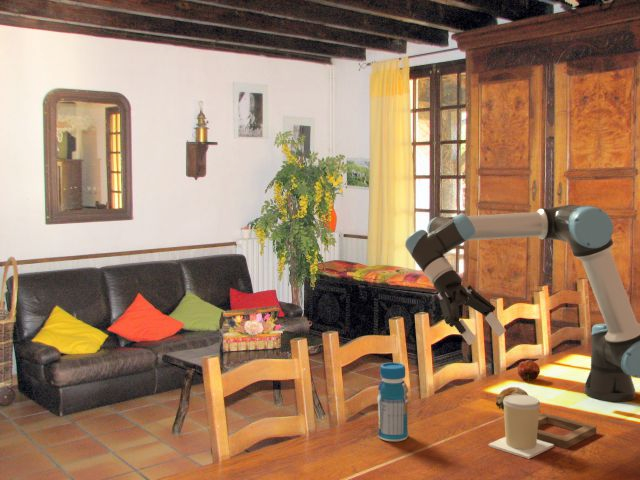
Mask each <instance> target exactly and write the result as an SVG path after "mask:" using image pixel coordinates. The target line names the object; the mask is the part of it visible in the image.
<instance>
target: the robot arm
mask: <svg viewBox="0 0 640 480" xmlns="http://www.w3.org/2000/svg"><path fill="white" fill-rule="evenodd" d="M426 229H427V230H425V229H418V230H417V231H414V232H413V233H411V234H410V235H409V236H408V237H407V239H406V240H405V244H404V245H405V248H406V249H407V251H408V252H409V254H410V255H411V258H412V259H413V260H414V261H415V262H416V264H417V266H418V267H419V268H420V269H421V271H422V272H423V274H424V275H425V276H426V278H427V279H428V280H429V282H430V283H431V284H432V285H433V288H434V289H435V290H436V291H437V295H436V296H435V298H436V299H437V302H438V303H439V305H440V310H441V312H442V316H443V319H444V323H445V324H446V325H449V327H450V328H453V327H455V329H456V331H457V332H458V333H459V334H460V335H461V336H462V337H463V339H464V340H465V342H466V343H467V345H468V346H470V345H472V344H473V343H474V342H475V341H476V340H477V337H476V336H475V334H474V333H473V331H472V330H471V329H470V328H469V326H468V324H467V323H466V322H465V320H463V318H461V319H460V307H459V306H468V307H469V308H471V309H473V310H475V311H477V312H478V313H480V314H481V315H483V316H484V319H485V320H486V322H487V323H488V325H489V326H490V327H491V328H492V330H493V331H494V333H495V334H496V336H497V337H498V338H499V337H501V336H502V335H504V334H505V332H507V329H506V328H505V327H504V326H503V324H502V323H501V322H500V320H499V319H498V317H497V316H496V314H495V313H494V311H495V310H496V307H495V306H494V305H493V304H492V303H491V302H490V301H488V300H487V299H486V298H485V297H483V296H482V295H481V294H479V292H477V291H476V290H475V289H474V288H473V286H471V285H470V284H468V285H467V287H464V286H463V285H462V281H463V280H462V278H461V276H460V275H459V274H458V272H456V270H454V267H453V265H452V264H451V263H450V262H449V260H448V259H447V258H446V256H445V254H447V253H448V252H450V251H452V250H454V249H455V248H457V247H458V246H460V245H461V244H463V243H465V242H467V241H479V240H481V241H482V240H497V239H498V240H499V239H500V240H501V239H514V238H533V237H538V239H539V240H554V241H555V240H556V241H560V242H566V243H568V244H569V246H570V249H571V250H570V251H571V252H572V255H573V257H574V258H577V259H579V260H580V261H581V263H582V266H583V268H584V271H585V274H586V276H587V278H588V279H587V280H588V282H589V285H590V287H591V289H592V292H593V295H594V297H595V300H596V302H597V305H598V308H599V311H600V313H601V316H602V318H603V321H604V323H596V324H593V326H592V327H591V334H590V337H591V338H590V339H591V342H590V343H591V344H590V345H591V348H590V370H589V373H588V376H587V379H586V381H585V384H584V394H585V396H588V397H591V398H592V399H597V400H602V401H606V402H607V401H608V402H627V401H628V402H629V401H632V400H634V399H635V397H636V389H635V385H634V382H633V379H632V377H634V378H640V323H639V322H637V319H636V316H635V313H634V311H633V308H632V305H631V302H630V300H629V297H628V295H627V294H628V293H627V291H626V289H625V287H624V284H623V282H622V279H621V276H620V272H619V271H618V268H617V266H616V263H615V259H614V257H613V255H612V254H613V253H612V252H611V251H612V250H611V249H612V248H613V246H614V241H613V238H612V234H613V233H614V223H613V220H612V218H611V216H610V215H609V214H608V213H607V212H606V211H604V210H603V209H601V208H599V207H596V206H593V205H578V204H566V205H565V204H564V205H559V206H554V207H553V206H552V207H547V208H545V207H544V208H537V210H536V211H535V212H534V211H531V212H515V213H514V212H513V213H500V214H496V213H495V214H481V215H479V214H477V215H467V214H465V213H460V214H458V215H454V216H449V217H448V216H447V217H444V216H436V217H434V218H432V219H431V220H429V222H428V224H427V228H426Z"/></svg>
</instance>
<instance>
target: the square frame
mask: <svg viewBox="0 0 640 480" xmlns="http://www.w3.org/2000/svg"><path fill="white" fill-rule="evenodd" d="M545 425H550V426H551V425H552V426H555V427H558V428H562V429H566V430H569V431H571V432H568V433H567V434H565V435H559V434H556V433H552V432H549V431H545V430H542V429H538V431H537V440H541V441H544V442H547V443H551V444H554V447H555V446H556V447H559V448H563V449H568V448H570V447H573V446H575V445H576V444H578V443H581V442H582V441H584V440H587V439H588V438H590V437H592V436H594V435H597V425H593V424H588V423H585V422H581V421H577V420H574V419H569V418H566V417H562V416H558V415H553V414H551V413H546V412H542V413H539V420H538V428H540V427H543V426H545Z"/></svg>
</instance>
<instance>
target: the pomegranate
mask: <svg viewBox="0 0 640 480" xmlns="http://www.w3.org/2000/svg"><path fill="white" fill-rule="evenodd" d="M540 373H541V368H540V366H539V364H538V363H537V362H535V361H533V360H532V359H526V360H523V361H521V362H519V364H518V365H517V374H518V376H519V377H520V378H521V379H522V380H524V381H525V380H528V381H527V382H528V384H529V383H530V380H531V381H532V380H537V379H538V378H539V377H538V376H539V375H540Z"/></svg>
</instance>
